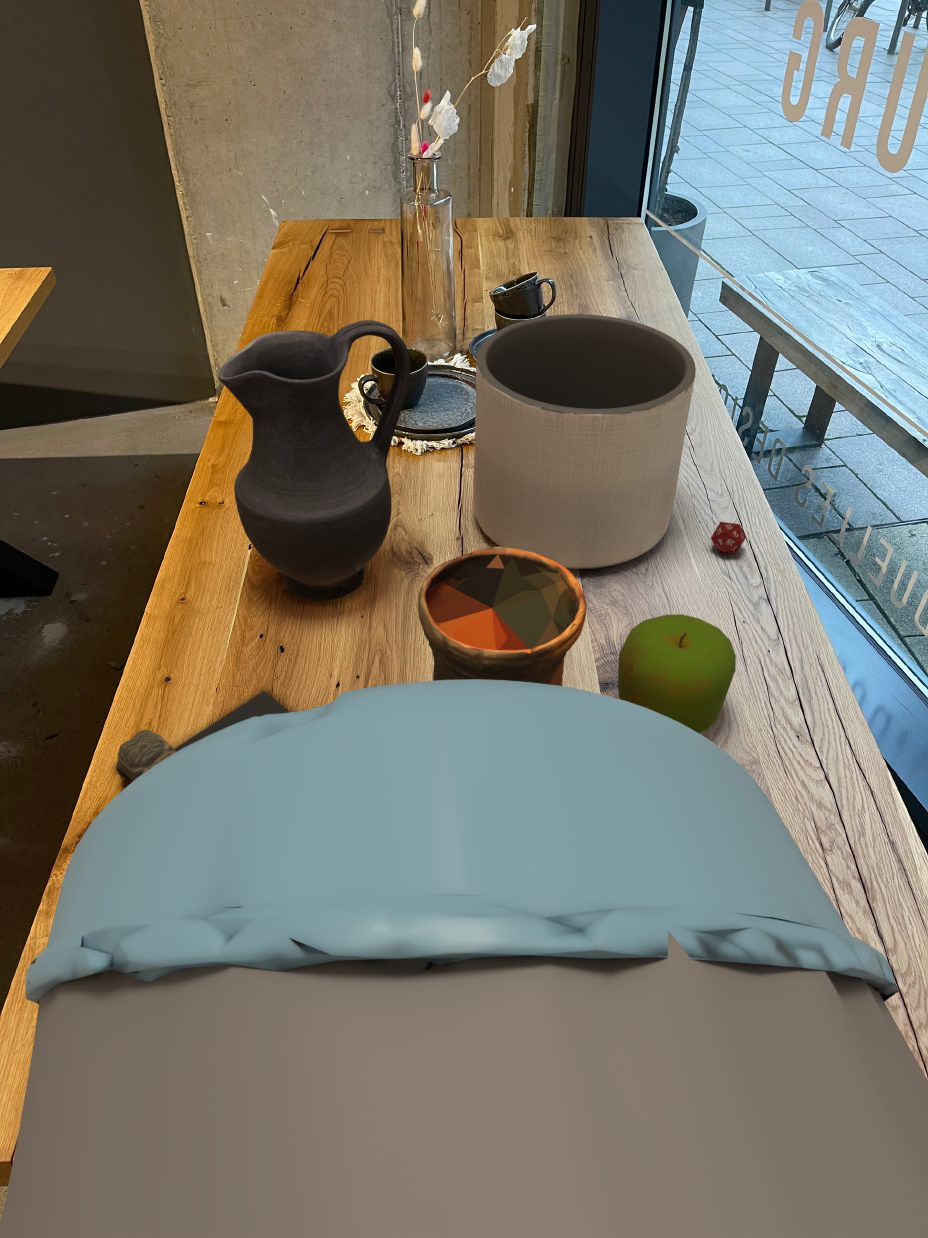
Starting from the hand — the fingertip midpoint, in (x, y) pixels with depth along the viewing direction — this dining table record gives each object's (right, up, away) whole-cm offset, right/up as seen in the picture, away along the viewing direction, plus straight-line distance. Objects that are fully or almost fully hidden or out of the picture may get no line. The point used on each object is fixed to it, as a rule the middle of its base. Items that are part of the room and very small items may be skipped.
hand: (528, 894), depth 57 cm
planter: (+10, +30, +62) cm, 70 cm away
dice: (+29, +26, +57) cm, 69 cm away
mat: (-22, +1, +30) cm, 37 cm away
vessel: (-1, +4, +33) cm, 34 cm away
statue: (-14, -7, +13) cm, 21 cm away
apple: (+17, +8, +37) cm, 42 cm away
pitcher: (-19, +23, +54) cm, 62 cm away
